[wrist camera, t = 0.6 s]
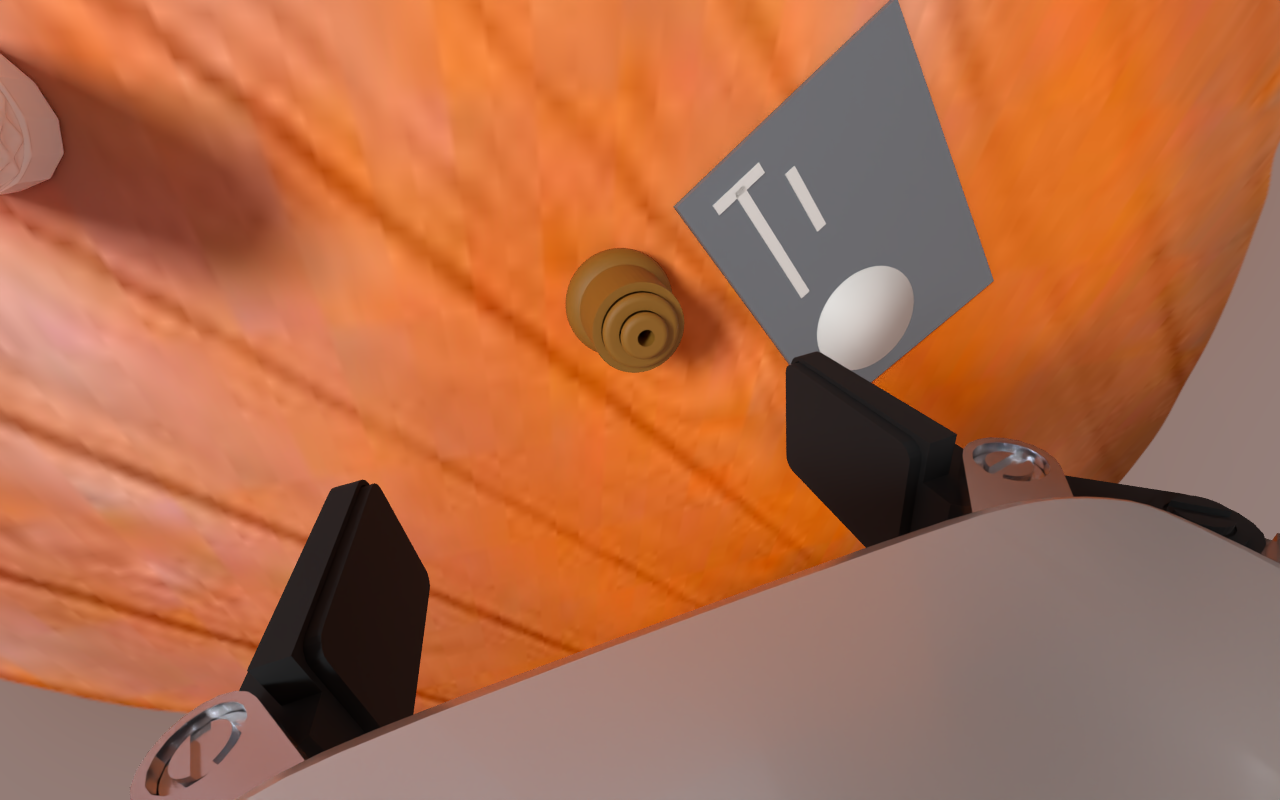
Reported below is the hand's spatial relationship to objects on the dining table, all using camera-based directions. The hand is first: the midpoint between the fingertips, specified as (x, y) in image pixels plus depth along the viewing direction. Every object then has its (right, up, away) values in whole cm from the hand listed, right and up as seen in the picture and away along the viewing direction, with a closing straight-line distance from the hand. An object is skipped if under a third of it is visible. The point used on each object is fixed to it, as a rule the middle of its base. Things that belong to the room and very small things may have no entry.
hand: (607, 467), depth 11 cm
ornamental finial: (-1, +9, +24) cm, 25 cm away
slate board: (+17, +13, +26) cm, 34 cm away
